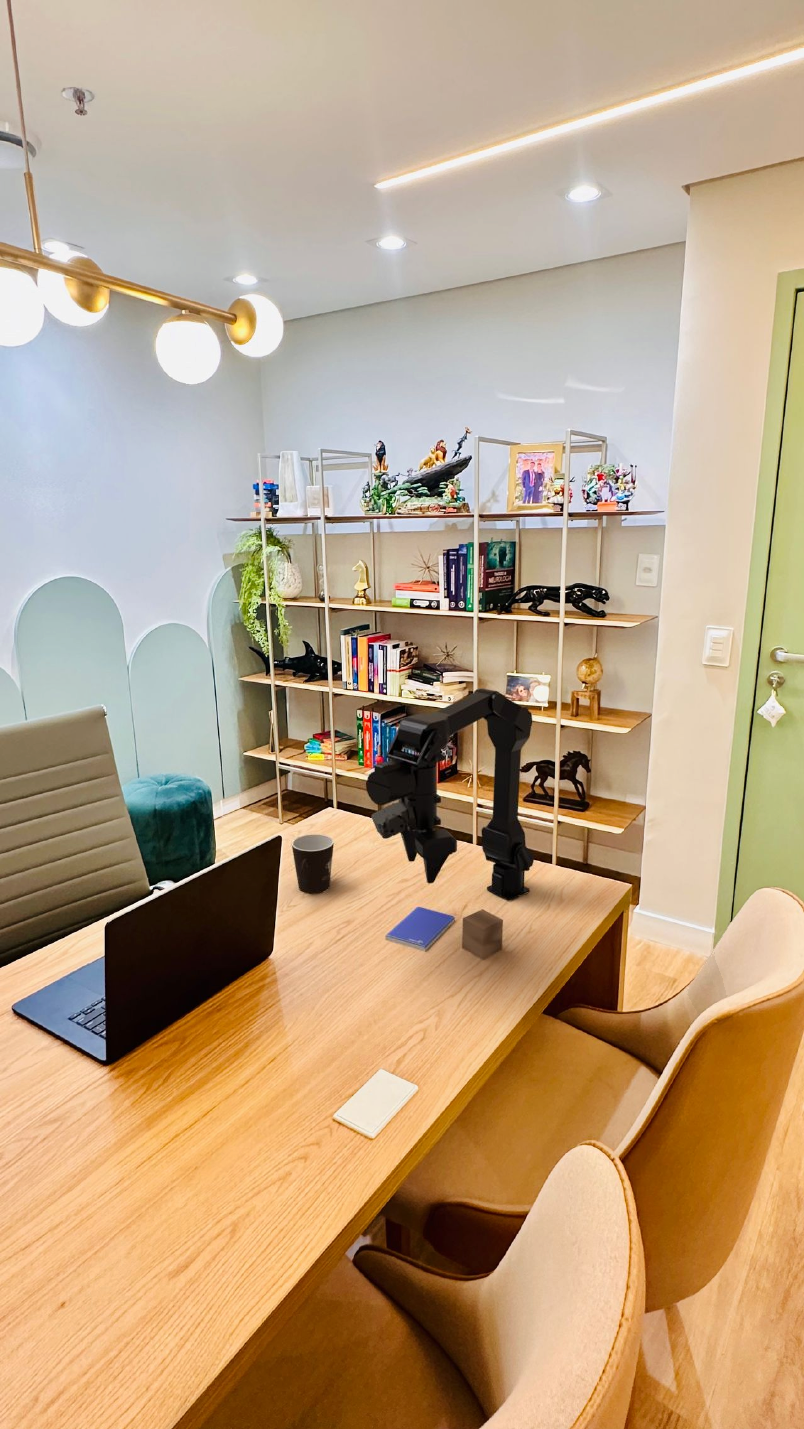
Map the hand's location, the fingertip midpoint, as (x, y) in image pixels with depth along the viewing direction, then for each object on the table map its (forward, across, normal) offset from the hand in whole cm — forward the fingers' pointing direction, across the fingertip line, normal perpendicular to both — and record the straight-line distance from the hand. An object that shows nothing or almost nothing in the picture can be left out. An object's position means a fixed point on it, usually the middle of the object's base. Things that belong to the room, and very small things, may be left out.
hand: (420, 871), depth 138 cm
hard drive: (+14, -3, +1) cm, 15 cm away
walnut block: (+14, +7, +9) cm, 18 cm away
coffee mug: (+14, -26, -15) cm, 33 cm away
